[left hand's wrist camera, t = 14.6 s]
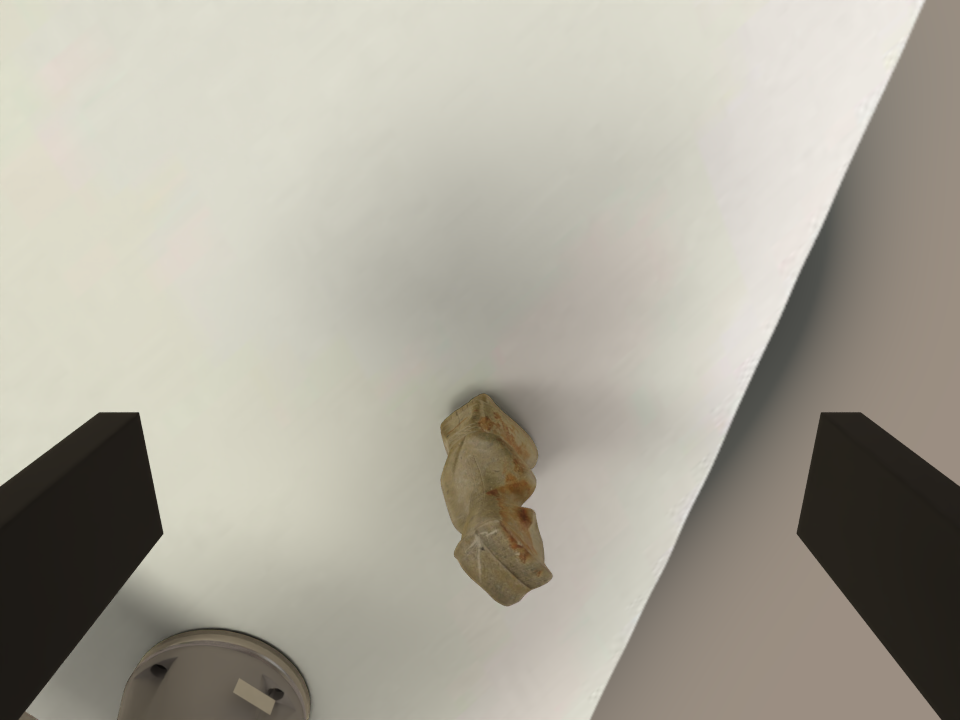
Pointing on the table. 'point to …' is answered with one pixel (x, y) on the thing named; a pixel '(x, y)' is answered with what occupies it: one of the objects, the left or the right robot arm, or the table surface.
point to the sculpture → (493, 500)
